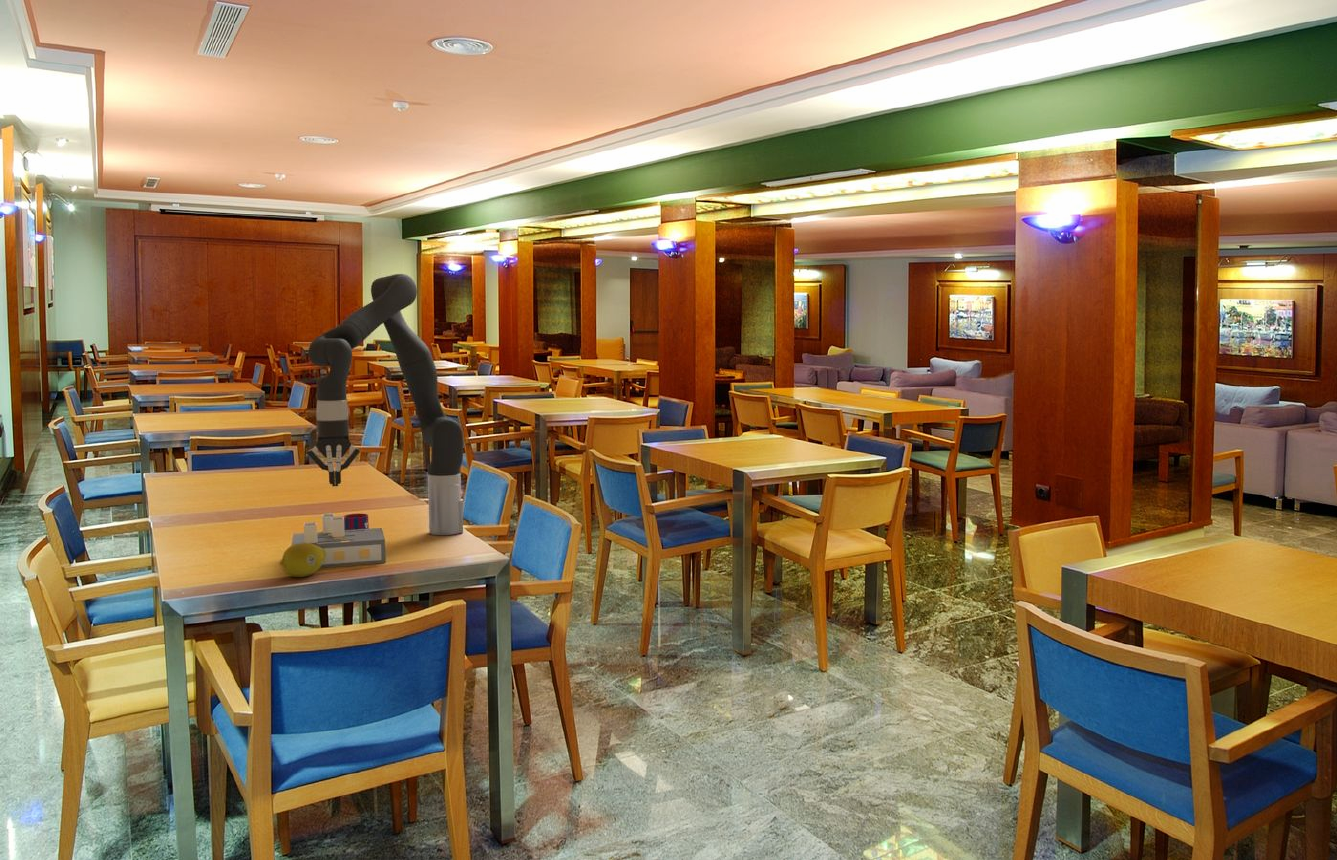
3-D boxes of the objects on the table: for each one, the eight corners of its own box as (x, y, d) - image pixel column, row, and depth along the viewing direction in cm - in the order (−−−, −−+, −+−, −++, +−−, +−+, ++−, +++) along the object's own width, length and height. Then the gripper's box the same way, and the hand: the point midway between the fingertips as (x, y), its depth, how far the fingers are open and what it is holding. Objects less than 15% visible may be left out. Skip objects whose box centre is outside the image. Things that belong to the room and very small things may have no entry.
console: (382, 550, 260) (381, 527, 260) (385, 563, 246) (385, 539, 245) (294, 556, 253) (293, 533, 252) (292, 570, 238) (291, 545, 238)
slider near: (317, 540, 243) (316, 521, 243) (317, 542, 241) (316, 524, 240) (304, 541, 242) (303, 522, 242) (304, 543, 240) (303, 525, 239)
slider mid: (344, 534, 251) (343, 516, 250) (344, 536, 248) (344, 518, 247) (332, 535, 250) (331, 516, 249) (332, 537, 247) (331, 519, 246)
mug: (360, 542, 269) (359, 518, 268) (328, 540, 272) (327, 516, 271) (373, 537, 275) (373, 514, 275) (343, 535, 278) (342, 512, 278)
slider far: (335, 530, 255) (334, 512, 255) (335, 532, 252) (334, 515, 252) (322, 531, 254) (322, 513, 254) (322, 533, 251) (322, 515, 251)
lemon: (284, 583, 227) (283, 549, 226) (276, 576, 233) (274, 543, 232) (331, 576, 233) (330, 543, 232) (322, 569, 239) (321, 537, 238)
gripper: (359, 415, 251) (361, 482, 253) (305, 417, 247) (307, 485, 249) (360, 418, 244) (362, 486, 246) (304, 420, 240) (307, 489, 242)
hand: (335, 485), depth 247 cm, fingers closed
